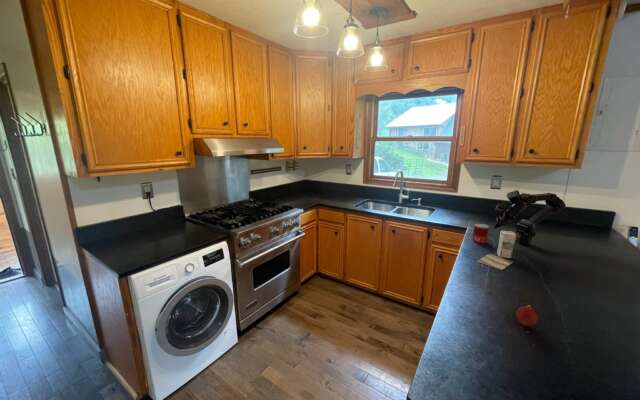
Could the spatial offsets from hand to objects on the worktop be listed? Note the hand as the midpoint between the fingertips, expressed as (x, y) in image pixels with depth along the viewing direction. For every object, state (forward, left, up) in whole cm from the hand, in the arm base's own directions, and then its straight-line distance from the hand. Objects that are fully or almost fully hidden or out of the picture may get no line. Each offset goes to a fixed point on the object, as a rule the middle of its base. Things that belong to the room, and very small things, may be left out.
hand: (496, 226), depth 159 cm
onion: (+28, +75, -13) cm, 81 cm away
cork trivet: (+11, +23, -13) cm, 29 cm away
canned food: (+5, -7, -13) cm, 16 cm away
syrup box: (+2, +15, -13) cm, 20 cm away
